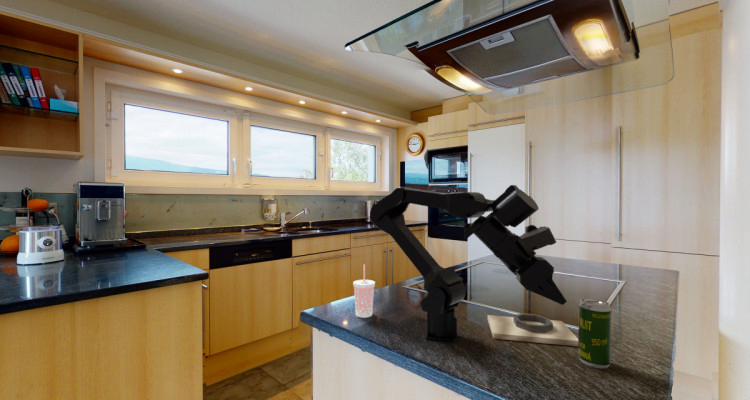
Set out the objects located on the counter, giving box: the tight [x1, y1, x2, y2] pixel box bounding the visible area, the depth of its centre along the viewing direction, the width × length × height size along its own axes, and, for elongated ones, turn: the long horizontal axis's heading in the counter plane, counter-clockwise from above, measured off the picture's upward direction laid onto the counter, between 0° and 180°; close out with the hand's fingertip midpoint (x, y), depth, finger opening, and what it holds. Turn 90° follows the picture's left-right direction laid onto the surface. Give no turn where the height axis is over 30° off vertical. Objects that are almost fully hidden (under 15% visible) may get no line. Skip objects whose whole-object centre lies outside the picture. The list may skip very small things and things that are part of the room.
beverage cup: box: [352, 263, 376, 319], centre depth 90 cm, size 6×6×14 cm
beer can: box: [577, 297, 612, 370], centre depth 65 cm, size 5×5×12 cm
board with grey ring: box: [487, 312, 578, 347], centre depth 79 cm, size 18×12×3 cm, turn 77°
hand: (556, 296), depth 66 cm, fingers open, 9 cm apart
